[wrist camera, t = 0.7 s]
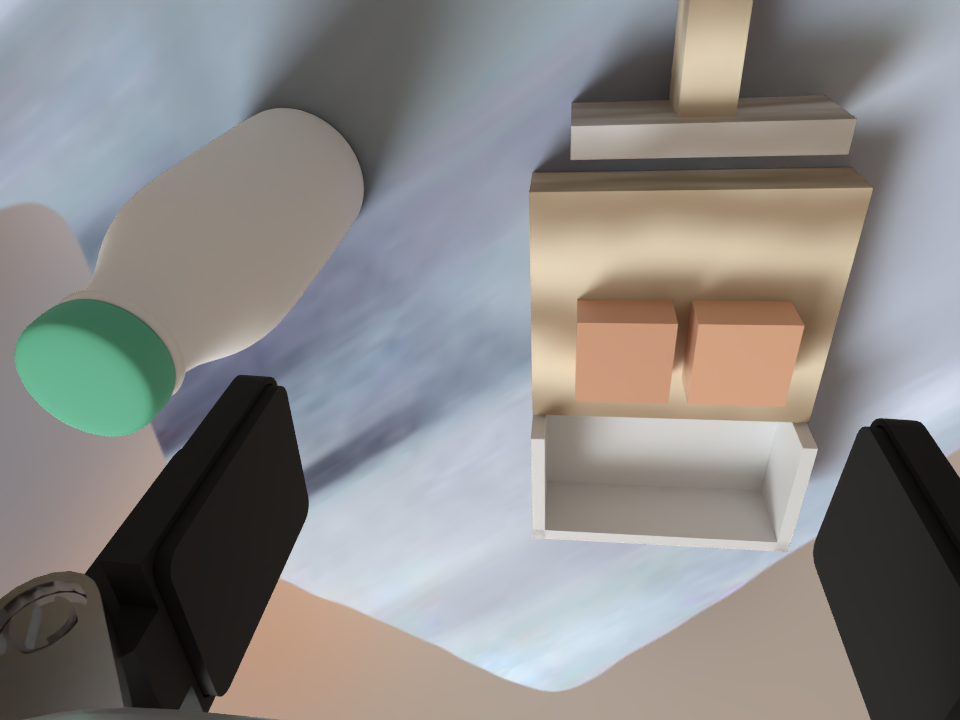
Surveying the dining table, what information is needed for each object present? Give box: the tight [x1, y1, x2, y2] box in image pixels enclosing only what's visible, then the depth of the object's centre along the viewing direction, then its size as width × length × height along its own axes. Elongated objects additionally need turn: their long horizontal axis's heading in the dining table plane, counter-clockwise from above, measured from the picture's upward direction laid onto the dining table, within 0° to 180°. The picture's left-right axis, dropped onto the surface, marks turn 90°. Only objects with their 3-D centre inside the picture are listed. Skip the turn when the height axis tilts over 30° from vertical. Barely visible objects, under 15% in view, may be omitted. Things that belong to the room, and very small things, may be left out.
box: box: [531, 414, 818, 552], centre depth 43 cm, size 8×16×5 cm, turn 93°
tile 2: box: [575, 299, 678, 404], centre depth 36 cm, size 5×5×2 cm
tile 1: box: [681, 300, 805, 407], centre depth 35 cm, size 5×5×2 cm
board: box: [529, 167, 873, 423], centre depth 37 cm, size 14×16×3 cm
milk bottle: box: [14, 108, 364, 436], centre depth 29 cm, size 8×8×20 cm
